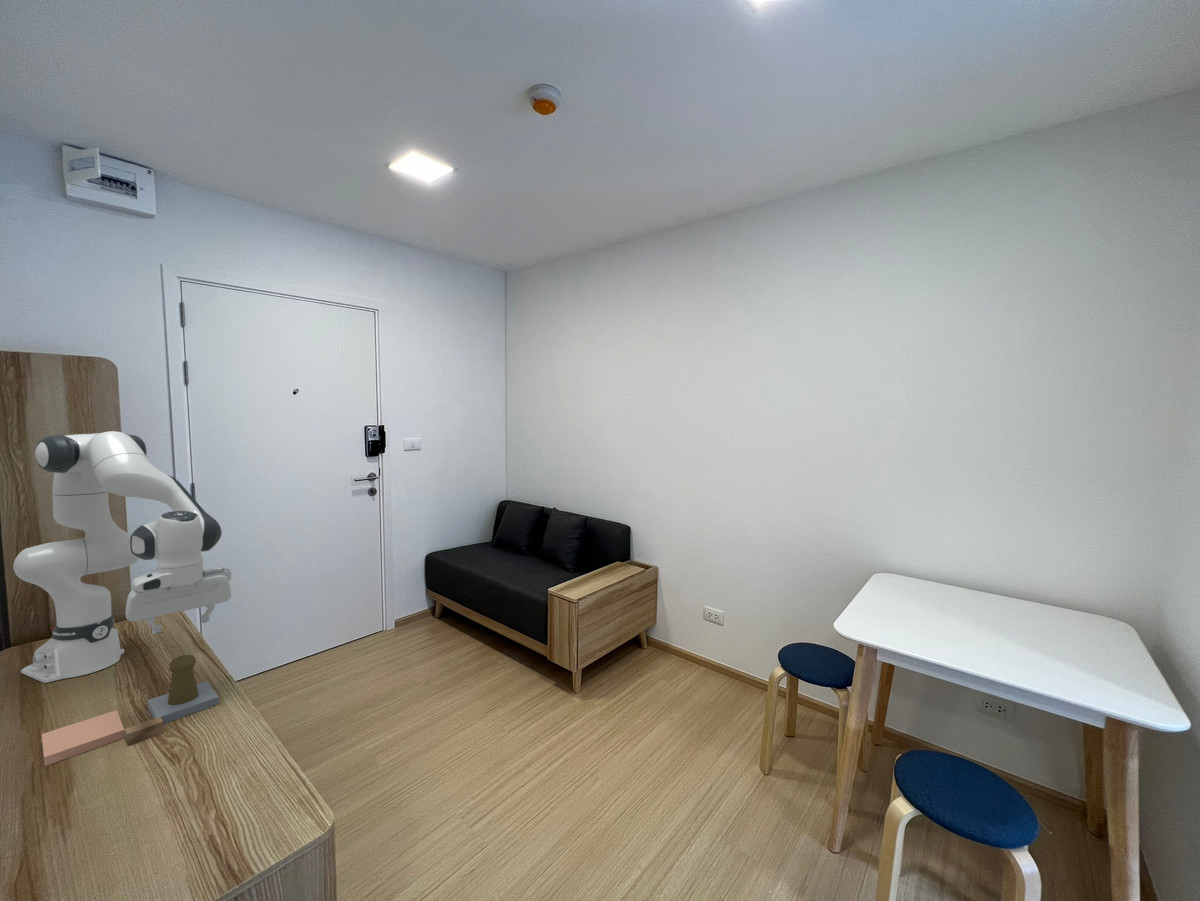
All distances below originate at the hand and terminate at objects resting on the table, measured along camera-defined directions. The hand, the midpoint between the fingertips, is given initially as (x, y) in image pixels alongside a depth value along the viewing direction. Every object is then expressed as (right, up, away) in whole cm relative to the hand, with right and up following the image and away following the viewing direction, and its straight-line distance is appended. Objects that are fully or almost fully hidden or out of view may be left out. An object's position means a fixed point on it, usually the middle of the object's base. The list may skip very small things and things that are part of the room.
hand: (181, 627), depth 121 cm
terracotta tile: (-11, -21, -13) cm, 27 cm away
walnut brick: (+2, -22, -11) cm, 24 cm away
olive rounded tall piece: (0, -19, +1) cm, 19 cm away
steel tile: (0, -21, +1) cm, 21 cm away
